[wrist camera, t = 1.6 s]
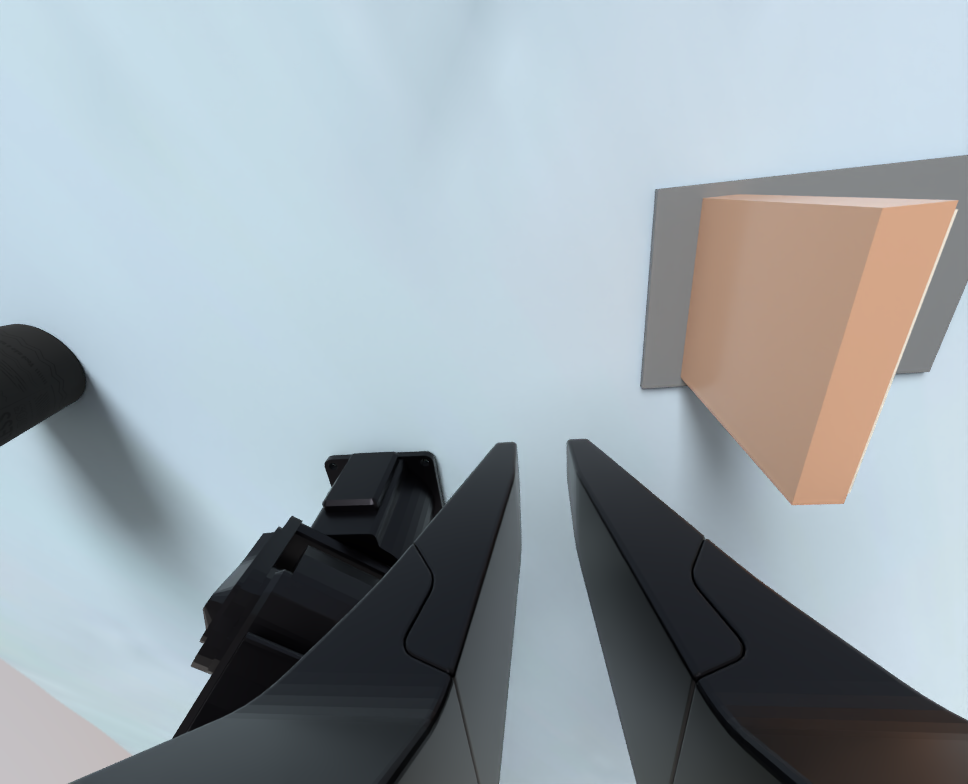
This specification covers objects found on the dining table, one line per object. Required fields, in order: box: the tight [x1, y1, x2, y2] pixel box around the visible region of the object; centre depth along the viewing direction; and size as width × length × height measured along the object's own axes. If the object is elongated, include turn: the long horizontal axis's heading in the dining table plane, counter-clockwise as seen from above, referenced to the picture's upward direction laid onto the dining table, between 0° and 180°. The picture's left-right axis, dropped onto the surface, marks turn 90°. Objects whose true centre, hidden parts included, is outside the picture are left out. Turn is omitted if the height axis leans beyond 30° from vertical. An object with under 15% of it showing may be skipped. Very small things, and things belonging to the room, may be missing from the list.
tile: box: [681, 194, 959, 505], centre depth 14 cm, size 8×2×9 cm, turn 6°
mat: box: [640, 155, 968, 389], centre depth 18 cm, size 9×13×1 cm
